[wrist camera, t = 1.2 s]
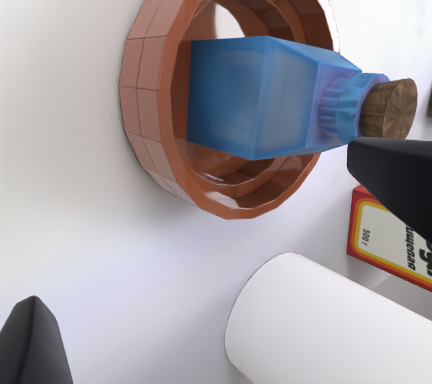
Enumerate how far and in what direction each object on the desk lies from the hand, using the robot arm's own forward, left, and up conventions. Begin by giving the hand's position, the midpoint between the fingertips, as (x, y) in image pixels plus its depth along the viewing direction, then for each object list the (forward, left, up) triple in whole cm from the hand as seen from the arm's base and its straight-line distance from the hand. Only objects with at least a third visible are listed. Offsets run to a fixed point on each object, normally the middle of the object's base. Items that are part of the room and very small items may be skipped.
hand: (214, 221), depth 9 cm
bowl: (+8, -8, -13) cm, 17 cm away
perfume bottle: (+8, -8, -13) cm, 17 cm away
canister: (-7, -27, -13) cm, 31 cm away
